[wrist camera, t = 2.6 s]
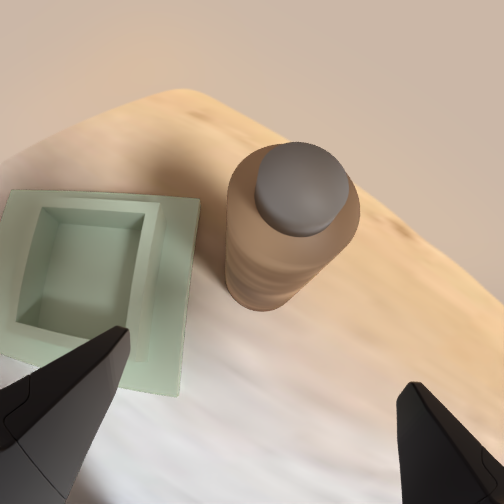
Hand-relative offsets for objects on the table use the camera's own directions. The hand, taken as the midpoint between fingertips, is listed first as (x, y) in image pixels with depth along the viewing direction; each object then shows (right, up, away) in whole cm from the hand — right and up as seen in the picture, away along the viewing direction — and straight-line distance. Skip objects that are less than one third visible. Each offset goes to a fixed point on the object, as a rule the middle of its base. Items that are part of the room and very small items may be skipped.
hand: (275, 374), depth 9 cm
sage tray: (-14, +1, +12) cm, 19 cm away
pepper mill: (0, +2, +14) cm, 14 cm away
